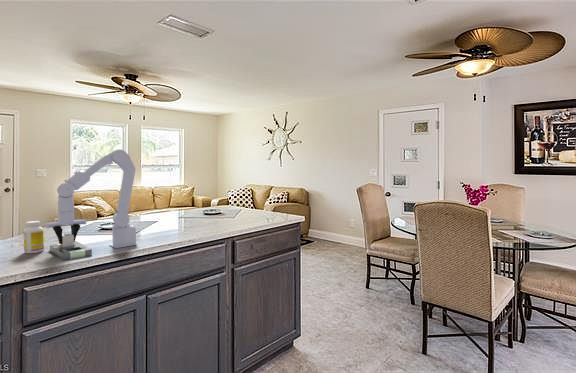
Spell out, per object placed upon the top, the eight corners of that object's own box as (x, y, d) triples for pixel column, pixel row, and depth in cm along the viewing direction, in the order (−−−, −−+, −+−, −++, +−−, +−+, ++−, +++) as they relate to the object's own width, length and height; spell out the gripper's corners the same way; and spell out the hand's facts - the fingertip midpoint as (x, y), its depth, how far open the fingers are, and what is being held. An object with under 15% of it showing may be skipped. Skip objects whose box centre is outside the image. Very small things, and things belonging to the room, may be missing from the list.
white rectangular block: (71, 249, 145) (70, 232, 145) (74, 251, 142) (73, 233, 142) (60, 251, 142) (60, 233, 142) (63, 252, 139) (62, 234, 139)
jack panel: (76, 246, 150) (76, 241, 149) (91, 255, 136) (91, 249, 136) (49, 250, 142) (49, 244, 142) (63, 260, 129) (63, 253, 129)
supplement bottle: (47, 249, 144) (46, 220, 143) (36, 253, 137) (35, 223, 136) (31, 249, 143) (31, 220, 143) (20, 253, 137) (19, 223, 136)
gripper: (82, 208, 149) (83, 238, 150) (43, 211, 138) (44, 243, 139) (87, 210, 144) (88, 241, 145) (47, 213, 134) (48, 246, 135)
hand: (67, 242), depth 142 cm, fingers closed on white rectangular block, 4 cm apart
